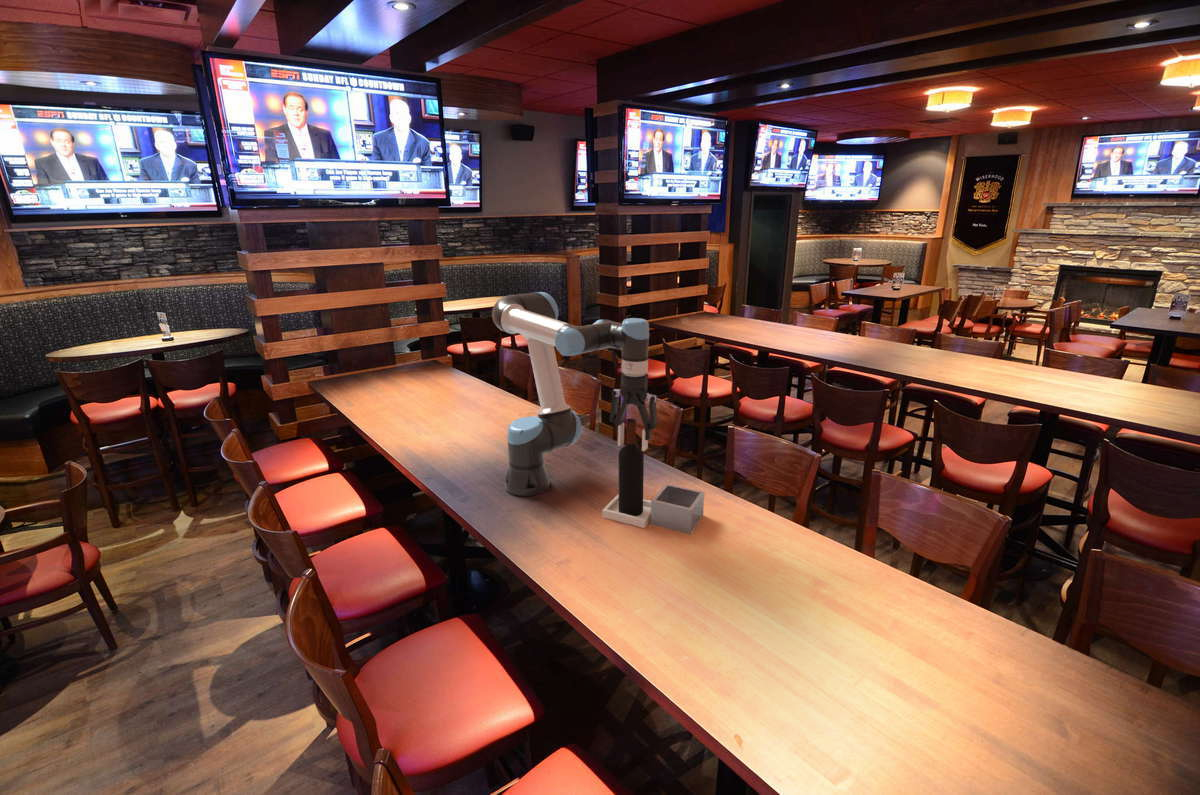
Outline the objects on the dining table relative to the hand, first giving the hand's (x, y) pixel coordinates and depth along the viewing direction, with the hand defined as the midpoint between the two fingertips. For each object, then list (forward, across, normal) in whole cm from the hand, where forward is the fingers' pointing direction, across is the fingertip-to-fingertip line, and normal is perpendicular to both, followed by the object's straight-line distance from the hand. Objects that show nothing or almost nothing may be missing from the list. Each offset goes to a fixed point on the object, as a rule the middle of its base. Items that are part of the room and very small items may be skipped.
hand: (632, 446), depth 172 cm
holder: (+23, +14, +3) cm, 27 cm away
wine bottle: (+22, 0, 0) cm, 22 cm away
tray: (+23, 0, 0) cm, 23 cm away
